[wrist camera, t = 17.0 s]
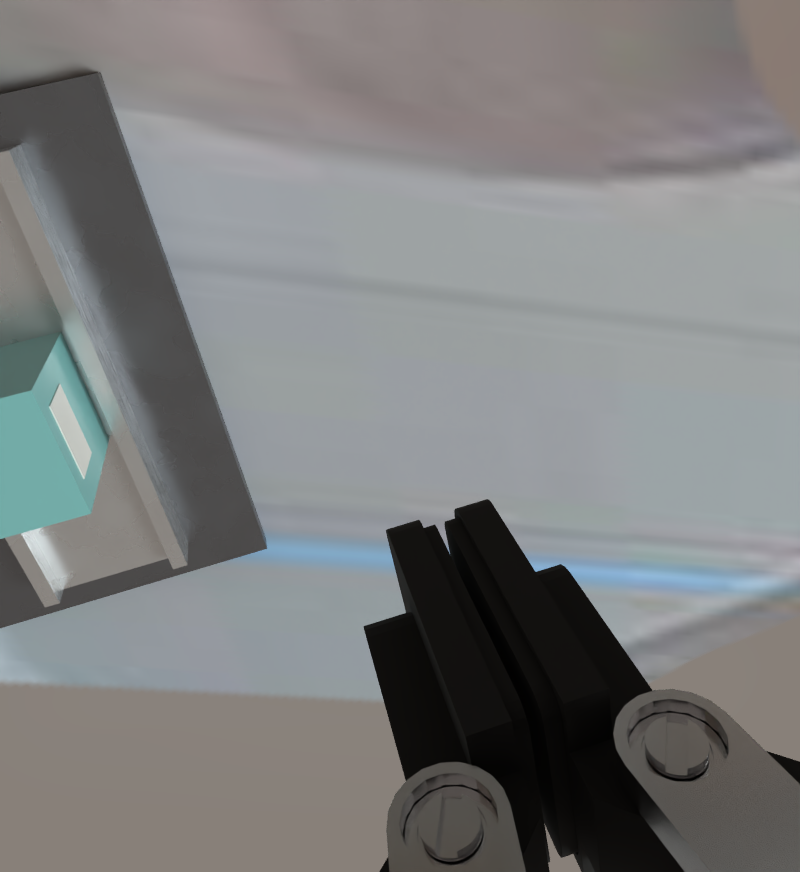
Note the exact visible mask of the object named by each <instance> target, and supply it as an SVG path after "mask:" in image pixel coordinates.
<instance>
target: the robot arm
mask: <svg viewBox="0 0 800 872" xmlns="http://www.w3.org/2000/svg"><path fill="white" fill-rule="evenodd" d="M454 511H455V519H452V520H449V521H446V522H445V530H446V535H447V540H448V545H449V550H450V554H449V552H448V550H447V548H446V546H445V543H444V541H443V539H442V537H441V535H440V533H439V531H438V529H437V527H436V526H435V525H432V526H429V527H426V528H423V526H422V524H421V522H420V520H417V521H413V522H410V523H407V524H404V525H400V526H397V527H394V528H390V529H387V530H386V533H387V538H388V542H389V546H390V550H391V554H392V558H393V562H394V566H395V570H396V574H397V578H398V582H399V586H400V590H401V594H402V598H403V602H404V606H405V610H406V613H405V614H401V615H398V616H395V617H392V618H389V619H386V620H382V621H379V622H376V623H373V624H370V625H367V626H364V630H365V634H366V638H367V641H368V645H369V649H370V652H371V656H372V659H373V663H374V667H375V670H376V674H377V678H378V681H379V685H380V688H381V692H382V696H383V699H384V703H385V707H386V710H387V714H388V717H389V721H390V725H391V728H392V732H393V736H394V739H395V743H396V747H397V750H398V754H399V757H400V761H401V765H402V768H403V772H404V776H405V779H406V782H405V783H404V784H403V785H402V787H401V788H400V789H399V790H398V792H397V793H396V794H395V796H394V799H393V801H392V804H391V806H390V808H389V811H388V820H387V843H388V858H387V860H386V862H385V863H384V865H383V867H382V868H381V870H380V872H549V867H548V862H550V857H549V851H548V844H547V838H546V831H545V825H546V827H547V830H548V832H549V834H550V837H551V839H552V841H553V843H554V846H555V848H556V850H557V852H558V854H559V855H560V857H565V856H568V855H570V854H574V856H575V858H576V860H577V863H578V865H579V867H580V869H581V871H582V872H800V762H799V761H796V760H793V759H789V758H786V757H783V756H780V755H777V754H774V753H771V752H767V751H765V750H764V749H763V748H762V747H761V746H760V745H759V744H758V743H757V742H756V741H755V740H754V739H753V738H752V737H751V736H750V735H749V734H748V733H747V732H746V731H745V730H744V729H743V728H742V727H741V726H740V725H739V724H738V723H736V722H735V721H734V720H733V719H732V718H731V717H730V716H729V715H728V714H727V713H726V712H725V711H724V710H722V709H721V708H720V707H718V706H717V705H716V704H714V703H713V702H712V701H710V700H708V699H705V698H703V697H701V696H699V695H696V694H694V693H691V692H686V691H680V690H675V689H668V690H654V691H652V689H651V688H650V686H649V685H648V683H647V682H646V681H645V679H644V678H643V676H642V675H641V673H640V672H639V671H638V669H637V668H636V666H635V665H634V663H633V662H632V661H631V659H630V658H629V656H628V655H627V653H626V652H625V650H624V649H623V648H622V646H621V645H620V643H619V642H618V640H617V639H616V638H615V636H614V635H613V633H612V632H611V630H610V629H609V628H608V626H607V625H606V623H605V622H604V620H603V619H602V618H601V616H600V615H599V613H598V612H597V610H596V609H595V608H594V606H593V605H592V603H591V602H590V600H589V599H588V598H587V596H586V595H585V593H584V592H583V590H582V589H581V588H580V586H579V585H578V583H577V582H576V580H575V579H574V578H573V576H572V575H571V573H570V572H569V571H568V570H567V569H566V567H564V566H563V565H561V564H560V565H557V566H554V567H551V568H547V569H544V570H541V571H538V572H535V571H534V569H533V567H532V566H531V564H530V563H529V561H528V560H527V558H526V556H525V555H524V553H523V552H522V550H521V549H520V547H519V545H518V544H517V542H516V541H515V539H514V537H513V536H512V534H511V533H510V531H509V530H508V528H507V526H506V525H505V523H504V522H503V520H502V519H501V517H500V515H499V514H498V512H497V511H496V509H495V508H494V506H493V504H492V503H491V502H490V500H488V499H486V500H483V501H480V502H477V503H473V504H470V505H467V506H463V507H460V508H457V509H455V510H454ZM450 555H451V556H450ZM544 823H545V825H544Z"/></svg>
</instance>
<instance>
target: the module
mask: <svg viewBox="0 0 800 872" xmlns="http://www.w3.org/2000/svg"><path fill="white" fill-rule="evenodd" d="M108 443H109V438H108V436H107V433H106V431H105V429H104V427H103V424H102V422H101V420H100V418H99V415H98V413H97V411H96V409H95V406H94V404H93V402H92V399H91V397H90V395H89V393H88V390H87V388H86V386H85V384H84V381H83V379H82V377H81V375H80V372H79V370H78V368H77V366H76V363H75V361H74V359H73V356H72V354H71V352H70V350H69V347H68V345H67V343H66V341H65V338H64V336H63V334H62V332H57V333H53V334H49V335H45V336H41V337H37V338H33V339H29V340H25V341H21V342H17V343H13V344H9V345H5V346H1V347H0V539H3V538H6V537H10V536H13V535H17V534H20V533H24V532H28V531H31V530H35V529H38V528H42V527H45V526H49V525H53V524H56V523H60V522H63V521H67V520H70V519H74V518H78V517H81V516H85V515H88V514H91V512H92V508H93V504H94V500H95V496H96V492H97V488H98V484H99V479H100V475H101V471H102V467H103V463H104V459H105V455H106V451H107V447H108Z"/></svg>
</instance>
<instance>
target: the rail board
mask: <svg viewBox="0 0 800 872" xmlns="http://www.w3.org/2000/svg"><path fill="white" fill-rule="evenodd" d="M57 332H62V334H63V336H64V338H65V341H66V343H67V345H68V347H69V350H70V352H71V354H72V356H73V359H74V361H75V363H76V366H77V368H78V370H79V372H80V375H81V377H82V379H83V381H84V384H85V386H86V388H87V390H88V393H89V395H90V397H91V399H92V402H93V404H94V406H95V409H96V411H97V413H98V415H99V418H100V420H101V422H102V424H103V427H104V429H105V431H106V433H107V436H108V438H109V443H108V447H107V451H106V455H105V459H104V463H103V467H102V471H101V475H100V479H99V484H98V488H97V492H96V496H95V500H94V504H93V508H92V512H91V514H88V515H85V516H81V517H78V518H74V519H70V520H67V521H63V522H60V523H56V524H53V525H49V526H45V527H42V528H38V529H35V530H31V531H28V532H24V533H20V534H17V535H13V536H10V537H6V538H3V539H0V628H2V627H6V626H9V625H13V624H16V623H19V622H23V621H26V620H29V619H33V618H36V617H39V616H43V615H46V614H49V613H53V612H56V611H59V610H63V609H66V608H69V607H73V606H76V605H79V604H83V603H86V602H90V601H93V600H96V599H100V598H103V597H106V596H110V595H113V594H116V593H120V592H123V591H126V590H130V589H133V588H136V587H140V586H143V585H146V584H150V583H153V582H156V581H160V580H163V579H167V578H170V577H173V576H177V575H180V574H183V573H187V572H190V571H193V570H197V569H200V568H203V567H207V566H210V565H213V564H217V563H220V562H223V561H227V560H230V559H233V558H237V557H240V556H244V555H247V554H250V553H254V552H257V551H260V550H264V549H267V544H266V538H265V535H264V532H263V529H262V527H261V524H260V521H259V518H258V515H257V512H256V510H255V507H254V504H253V501H252V498H251V496H250V493H249V490H248V487H247V484H246V481H245V479H244V476H243V473H242V470H241V467H240V465H239V462H238V459H237V456H236V453H235V451H234V448H233V445H232V442H231V439H230V436H229V434H228V431H227V428H226V425H225V422H224V420H223V417H222V414H221V411H220V408H219V405H218V403H217V400H216V397H215V394H214V391H213V389H212V386H211V383H210V380H209V377H208V374H207V372H206V369H205V366H204V363H203V360H202V358H201V355H200V352H199V349H198V346H197V343H196V341H195V338H194V335H193V332H192V329H191V327H190V324H189V321H188V318H187V315H186V312H185V310H184V307H183V304H182V301H181V298H180V296H179V293H178V290H177V287H176V284H175V281H174V279H173V276H172V273H171V270H170V267H169V265H168V262H167V259H166V256H165V253H164V250H163V248H162V245H161V242H160V239H159V236H158V234H157V231H156V228H155V225H154V222H153V219H152V217H151V214H150V211H149V208H148V205H147V203H146V200H145V197H144V194H143V191H142V188H141V186H140V183H139V180H138V177H137V174H136V172H135V169H134V166H133V163H132V160H131V157H130V155H129V152H128V149H127V146H126V143H125V141H124V138H123V135H122V132H121V129H120V126H119V124H118V121H117V118H116V115H115V112H114V110H113V107H112V104H111V101H110V98H109V95H108V93H107V90H106V87H105V84H104V81H103V79H102V76H101V73H100V72H99V73H95V74H90V75H86V76H81V77H77V78H72V79H67V80H63V81H58V82H54V83H49V84H45V85H40V86H36V87H31V88H27V89H22V90H18V91H13V92H9V93H4V94H0V347H1V346H5V345H9V344H13V343H17V342H21V341H25V340H29V339H33V338H37V337H41V336H45V335H49V334H53V333H57Z"/></svg>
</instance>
